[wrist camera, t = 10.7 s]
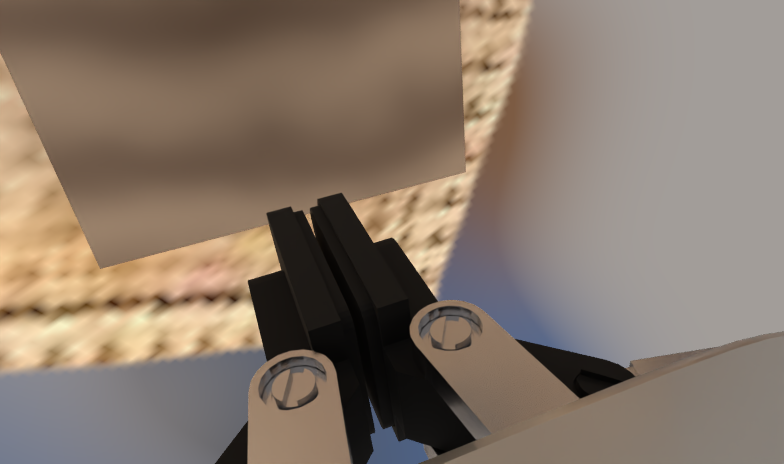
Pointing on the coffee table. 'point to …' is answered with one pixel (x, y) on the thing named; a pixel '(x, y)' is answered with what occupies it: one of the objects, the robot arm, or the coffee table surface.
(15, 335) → the coffee table surface
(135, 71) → the brown board with blocks
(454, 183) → the coffee table surface
